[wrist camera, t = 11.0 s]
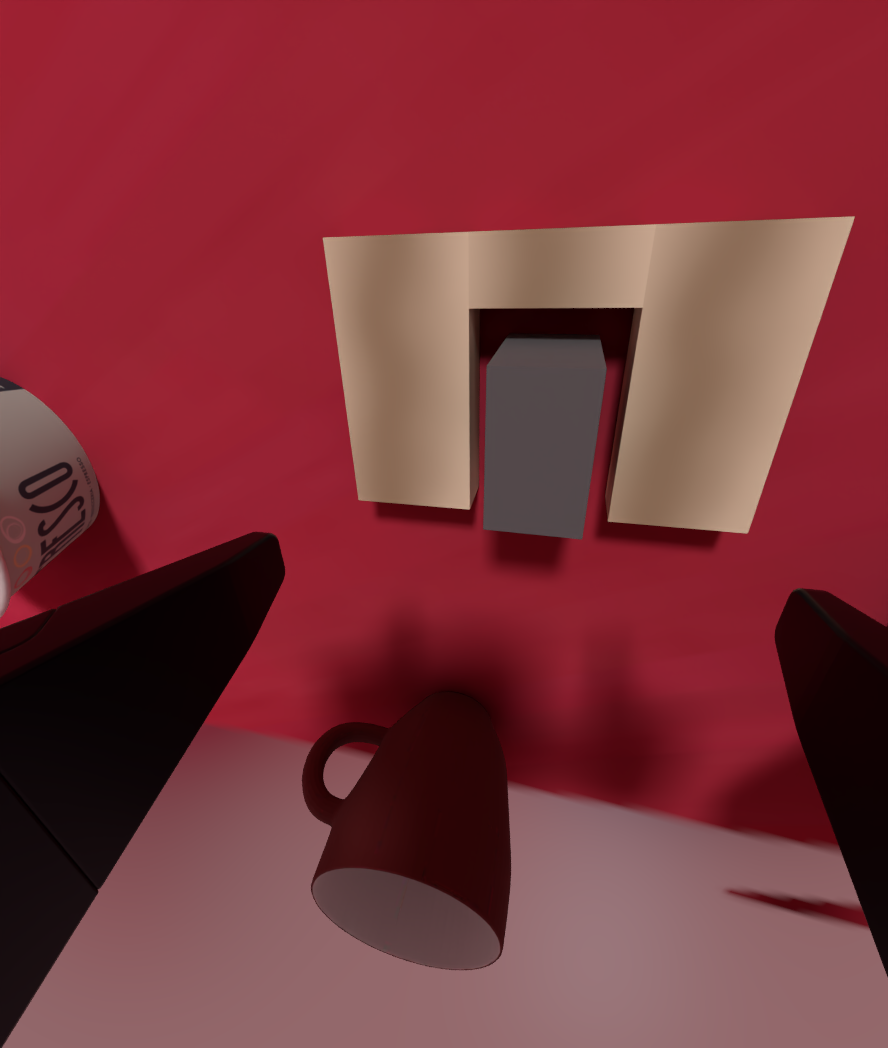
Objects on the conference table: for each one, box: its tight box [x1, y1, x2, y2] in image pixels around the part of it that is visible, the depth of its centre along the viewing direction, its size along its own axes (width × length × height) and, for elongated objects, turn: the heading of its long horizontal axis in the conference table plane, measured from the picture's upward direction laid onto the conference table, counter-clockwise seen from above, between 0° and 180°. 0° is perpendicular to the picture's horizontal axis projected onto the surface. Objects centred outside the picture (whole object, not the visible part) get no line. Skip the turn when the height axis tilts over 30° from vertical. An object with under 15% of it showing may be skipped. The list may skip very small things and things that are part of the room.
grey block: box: [483, 333, 607, 539], centre depth 16 cm, size 3×5×5 cm, turn 1°
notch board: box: [323, 217, 855, 533], centre depth 16 cm, size 14×9×2 cm, turn 92°
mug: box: [302, 692, 511, 970], centre depth 24 cm, size 11×8×10 cm
